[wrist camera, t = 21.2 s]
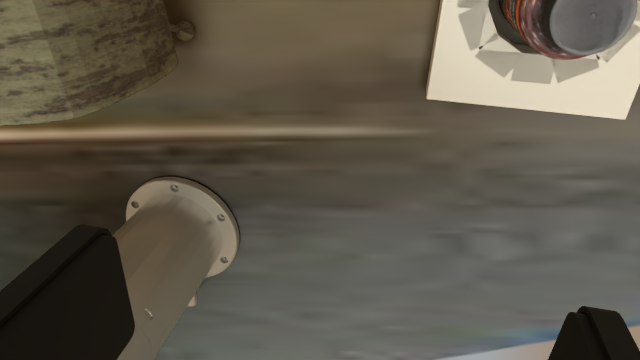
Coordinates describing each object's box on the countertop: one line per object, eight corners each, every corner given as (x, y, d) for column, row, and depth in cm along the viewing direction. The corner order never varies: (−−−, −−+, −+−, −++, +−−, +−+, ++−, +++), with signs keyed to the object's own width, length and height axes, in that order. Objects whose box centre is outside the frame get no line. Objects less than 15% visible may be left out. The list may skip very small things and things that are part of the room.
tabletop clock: (69, 55, 42) (-298, 186, 21) (32, -54, 38) (-477, -33, 16) (214, 49, 39) (-39, 193, 18) (191, -71, 35) (-178, -73, 13)
